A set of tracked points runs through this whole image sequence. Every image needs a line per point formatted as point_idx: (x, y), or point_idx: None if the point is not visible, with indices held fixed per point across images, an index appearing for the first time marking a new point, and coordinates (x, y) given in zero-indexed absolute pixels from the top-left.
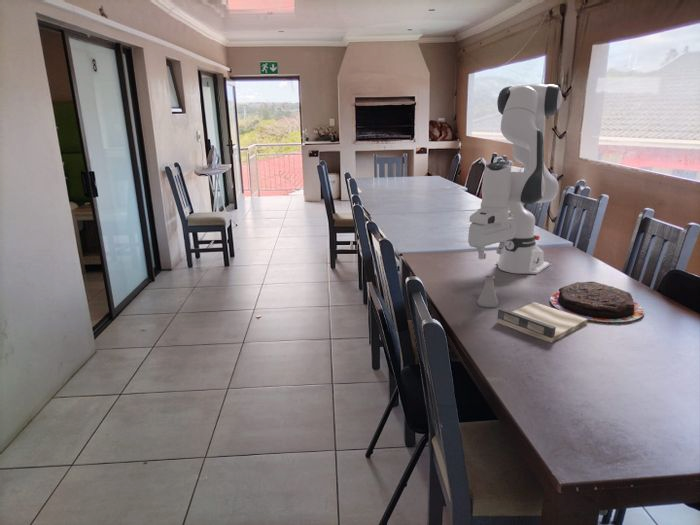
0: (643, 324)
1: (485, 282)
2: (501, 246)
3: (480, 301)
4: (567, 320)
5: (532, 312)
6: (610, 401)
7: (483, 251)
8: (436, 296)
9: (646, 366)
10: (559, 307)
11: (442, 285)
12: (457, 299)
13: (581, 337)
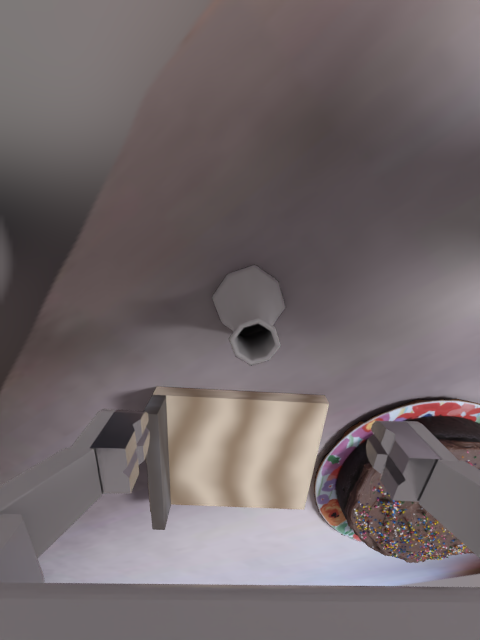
0: (366, 547)
1: (241, 318)
2: (456, 507)
3: (218, 296)
4: (267, 491)
5: (254, 431)
6: (78, 582)
7: (52, 536)
8: (166, 101)
9: (206, 581)
10: (345, 445)
11: (302, 6)
12: (207, 197)
13: (230, 511)
